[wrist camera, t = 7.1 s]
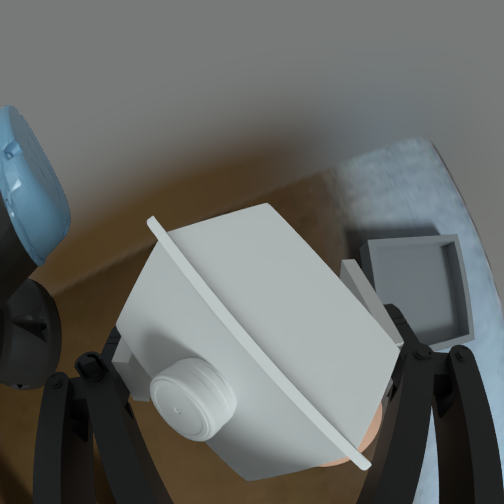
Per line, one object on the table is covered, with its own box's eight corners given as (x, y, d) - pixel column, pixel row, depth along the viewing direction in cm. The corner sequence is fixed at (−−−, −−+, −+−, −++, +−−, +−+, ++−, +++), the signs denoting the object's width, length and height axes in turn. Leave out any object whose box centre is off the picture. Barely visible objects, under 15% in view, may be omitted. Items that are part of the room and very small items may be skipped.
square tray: (372, 362, 27) (383, 364, 25) (359, 248, 31) (367, 239, 28) (460, 340, 27) (474, 339, 24) (445, 241, 31) (457, 234, 28)
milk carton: (262, 281, 25) (273, 128, 7) (317, 344, 23) (473, 348, 5) (197, 335, 24) (40, 315, 5) (252, 399, 22) (237, 550, 4)
